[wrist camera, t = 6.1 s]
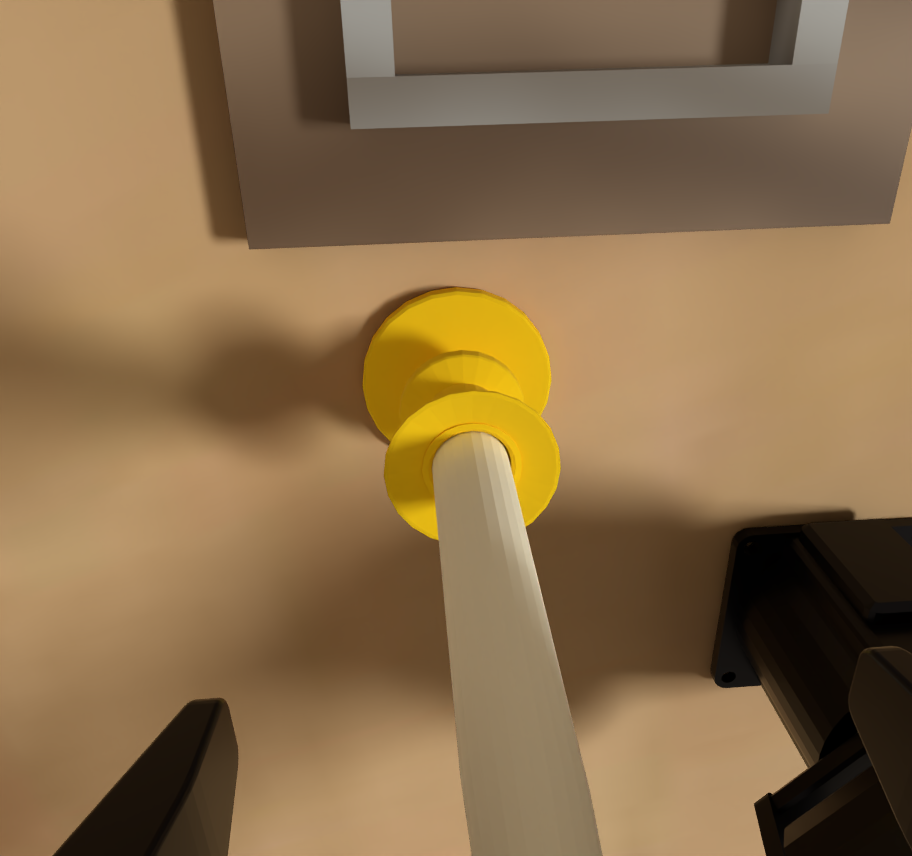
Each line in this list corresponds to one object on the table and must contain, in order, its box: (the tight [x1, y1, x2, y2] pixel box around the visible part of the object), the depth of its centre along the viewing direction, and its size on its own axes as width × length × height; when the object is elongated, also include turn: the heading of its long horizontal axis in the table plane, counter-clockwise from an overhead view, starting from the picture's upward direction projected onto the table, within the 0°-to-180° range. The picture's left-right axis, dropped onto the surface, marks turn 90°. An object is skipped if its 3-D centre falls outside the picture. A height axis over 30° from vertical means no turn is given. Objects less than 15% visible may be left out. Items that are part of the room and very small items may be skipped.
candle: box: [362, 287, 602, 856], centre depth 15 cm, size 5×5×16 cm
